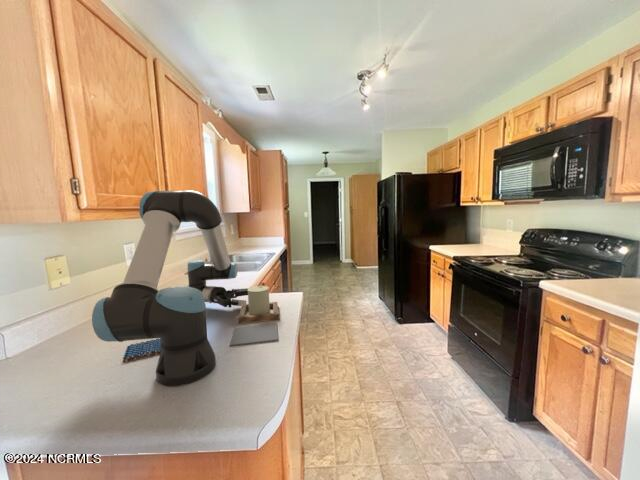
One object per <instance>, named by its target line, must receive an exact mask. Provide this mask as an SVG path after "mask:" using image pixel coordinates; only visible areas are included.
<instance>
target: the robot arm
mask: <svg viewBox="0 0 640 480" xmlns="http://www.w3.org/2000/svg"><path fill="white" fill-rule="evenodd" d="M138 206H139V208H138V213H139V216H140V219H142V222H143V223H144V225H145V226H144V227H143V230H142V233H141V234H140V238H139V240H138V242H137V245H136V247H135V248H136V249H135V251H134V253H133V255H132V259H131V261H130V263H129V266H128V268H127V271H126V274H125V277H124V279H123V282H121V283H119V284H117V285H116V286H114V287H113V289H112V292H111V294H110V296H107V297H106V296H105V297H103V298H101V299H99V300H98V301H96V303H95V305H94V306H93V310H92V315H91V323H92V325H91V326H92V327H93V332H94V334H95V335H96V336H97V338H98V339H99V340H101V341H103V342H110V343H111V342H118V343H123V342H127V341H138V340H149V339H150V340H154V339H160V340H161V353H159V357H158V361H157V365H156V367H155V368H156V369H155V376H156V381H157V383H158V384H160V385H162V386H165V387H179V386H186V385H189V384H191V383H195V382H198V381H199V380H201V379H203V378H205V377H207V375H209V374H211V373H212V372H213V370H214V369H215V368H216V364H217V360H216V353H215V352H214V349H213V347H212V346H211V343H210V341H209V339H208V338H209V337H208V330H207V329H208V328H207V326H208V325H207V311H206V309H207V306H206V303H209V304H218V305H219V306H222V307H224V308H227V307H228V308H232V306H233V307H236V306H237V307H242V306H244V307H246V305H247V300H246V299H241V298H238V297H244V296H245V297H246V296H248V291H247V289H248V288H249V287H247V288H231V290H230V289H228V290H226V288H225V287H224V286H213V285H207V281H213V280H231V279H236V278H237V277H238V264H237V263H235V262H231V260H230V255H229V252H228V248H227V244H226V241H225V237H224V233H223V231H222V230H223V229H222V227H221V224H222V216H221V213H220V210H219V209H218V207H217V206H216V205H215V203H214V202H213V201H212V200H211V199H210V198H209V197H208V196H206V195H205V194H203V193H201V192H199V191H195V190H154V191H147V192H146V193H144V194H143V195H142V197H141V199H140V201H139V204H138ZM182 223H195V225H196V227H197V228H198V229H199V230H200V231H201V234H202V237H203V240H204V242H205V245H206V248H207V251H208V254H209V257H210V259H211V263H206V262H205V260H202V259H195V260H191V261H188V263H187V279H188V280H187V281H188V285H187V286H173V287H170V286H169V287H165V288H162V289H160V290H159V289H158V285H159V281H160V279H161V275H162V272H163V268H164V265H165V262H166V258H167V255H168V252H169V248H170V244H171V240H172V237H173V234H174V233H175V232H176V231H178V230H179V229H180V228H181V224H182Z"/></svg>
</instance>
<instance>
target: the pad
mask: <svg viewBox="0 0 640 480" xmlns="http://www.w3.org/2000/svg"><path fill="white" fill-rule="evenodd" d="M278 341H279V335H278V323H277V322H276V323H273V322H272V323H265V324H255V325H245V326H236V327H234V329H233V331H232V335H231V338H230V342H229V348H231V347H238V346H239V347H240V346H247V345H255V344H257V345H258V344H263V343H264V344H265V343H273V342H278Z"/></svg>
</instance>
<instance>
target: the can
mask: <svg viewBox="0 0 640 480" xmlns="http://www.w3.org/2000/svg"><path fill="white" fill-rule="evenodd" d="M247 288H248V289H247V291H248V295H247V300H248V303H247V304H249V310H248V315H258V314H268V313H271V310H270V309H271V308H270V305H269V302H270V287H269V286H267V285H254V286H250V287H247Z"/></svg>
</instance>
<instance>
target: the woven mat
mask: <svg viewBox="0 0 640 480" xmlns="http://www.w3.org/2000/svg"><path fill="white" fill-rule="evenodd" d="M125 349H126V350H125V352H124V355H123V357H122V359H123V360H122V362H123V363H127V362H128V363H129V361H130V362H133V360H134V361H136V360H138V359H139V360H141V359H146V358H149V357H151V356H152V357H153V356H154V355H155V356H158V354H160V353H161V340H160V338H153V339H150V340H146V341H141V342H138V343H137V342H136V343H133V344H132V343H131V344H129V345H127V346H126V348H125ZM142 357H143V358H142Z"/></svg>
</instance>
